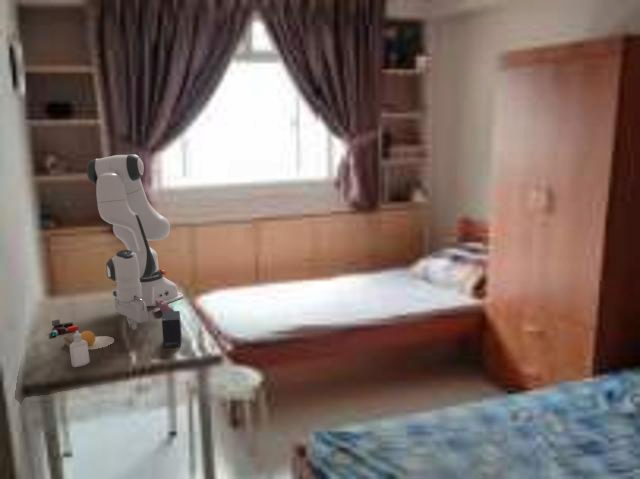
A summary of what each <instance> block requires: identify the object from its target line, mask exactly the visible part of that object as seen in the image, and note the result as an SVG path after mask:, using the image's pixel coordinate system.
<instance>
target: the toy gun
mask: <svg viewBox="0 0 640 479" xmlns="http://www.w3.org/2000/svg"><path fill="white" fill-rule="evenodd" d="M51 326H52V329H51V332H50V333H49V337H51V338H53V337H54V336H55V337H57V336H58V335H63V334H67V333H72V332H76V330H78V331H79V326H78V325H74V323H73V321H71V322H64V323H63V322H62V323H61V322H60V318H58V319H53V320H51Z"/></svg>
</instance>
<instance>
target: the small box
mask: <svg viewBox="0 0 640 479" xmlns="http://www.w3.org/2000/svg"><path fill="white" fill-rule="evenodd" d="M161 330H162V341H163V344H162V345H163V349H168V348H178V347H179V348H180V347H182V320H181V312H180V310H174V311H169V312H162V317H161Z"/></svg>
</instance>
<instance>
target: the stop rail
mask: <svg viewBox="0 0 640 479" xmlns="http://www.w3.org/2000/svg"><path fill="white" fill-rule="evenodd" d="M63 338H64V340H63V341H64V345H66V347H67V348H70V344H71V343H73V342H74V335H71V334H69V335H66V336H64V337H63Z"/></svg>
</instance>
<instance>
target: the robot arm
mask: <svg viewBox="0 0 640 479" xmlns="http://www.w3.org/2000/svg"><path fill="white" fill-rule="evenodd" d="M144 172H145V167H144V162H143V160H142V158H141V157H140V156H139V155H137V154H131V153H128V154H115V155H112V156H105V157H102V158H94V159H92V160H90V161H89V162H88V163H87V165H86V175H87V178H88V180H89V182H90V183H91V184H92V185H93V186H95V187H96V188H95V189H96V190H95V191H96V202H97V203H96V204H97V210H98V213H99V216H100V218H101V219H102V220H103V221H104V222H106V223H108V224H110V225H112V231H113V234H114V236H115V237H116V238H117V239H119V240H120V241H121V242H122V243H123V244H124V246H125V247H126V249H125V250H124V249H123V250H120V251H117V252H116V253H115V255H114V257H111V258H109V260H108V261H107V262H106V264H105V266H106V267H105V268H106V276H107V278H108V279H109V280H111V281H113V282H117V283H116V289H112V291H111V292H112V296H113V302H114V308H115V311H116V312H117V313H118V314H120V315H122V316H124V317H125V318H126V321H127V323H128V327H129V329H132V330H136V329H138V323H139V324H142V323H146V322H148V320H149V313H148V308H147V307H156V306H155V304H156V303H155V301H156V300H157V299H159V298H160V299H162V300H164V302H165V303H167V304H168V303H172V302H174V301H175V302H176V301H178V300H181V299H183V298H184V294H183V293H181V292H179V291H178V288H177V285H176V284H175V283H174V282H173V281H171V280H169V279H167V278H166V277H164V276H166V275H167V273H168V272H167V270H165V269H160V268H159V262H158V261H159V260H158V253H157V252H156V250H155V249H153V248H152V247H150V245H149V242H151V241H160V240H161V241H162V240H165V239H166V238H167V237H168V236H169V234H170V232H171V225H170V224H171V223H170V221H169V220H168V218H166V217H165V216H163V215H161V213H159V212H158V211H157V210H155V208H154V207H153V206H152V205H151V203H150V202H149V200H148V198H147V195H146V192H145V189H144V185H143V183H142V180H141V178H142V177H143V176H144V174H145V173H144ZM163 275H164V276H163Z"/></svg>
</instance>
